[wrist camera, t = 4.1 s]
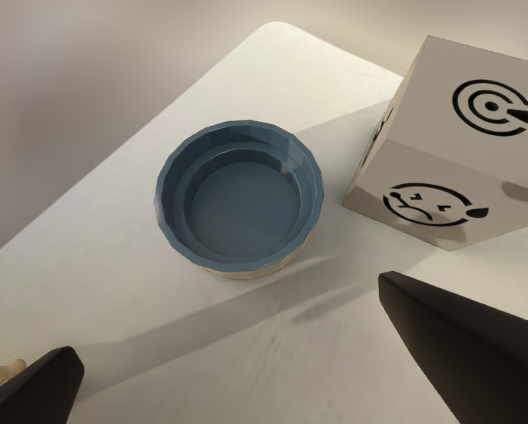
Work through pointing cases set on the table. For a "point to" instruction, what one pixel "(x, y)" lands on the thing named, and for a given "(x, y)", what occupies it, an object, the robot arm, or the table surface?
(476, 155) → the icon cube
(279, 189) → the blue pet bowl
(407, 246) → the table surface
